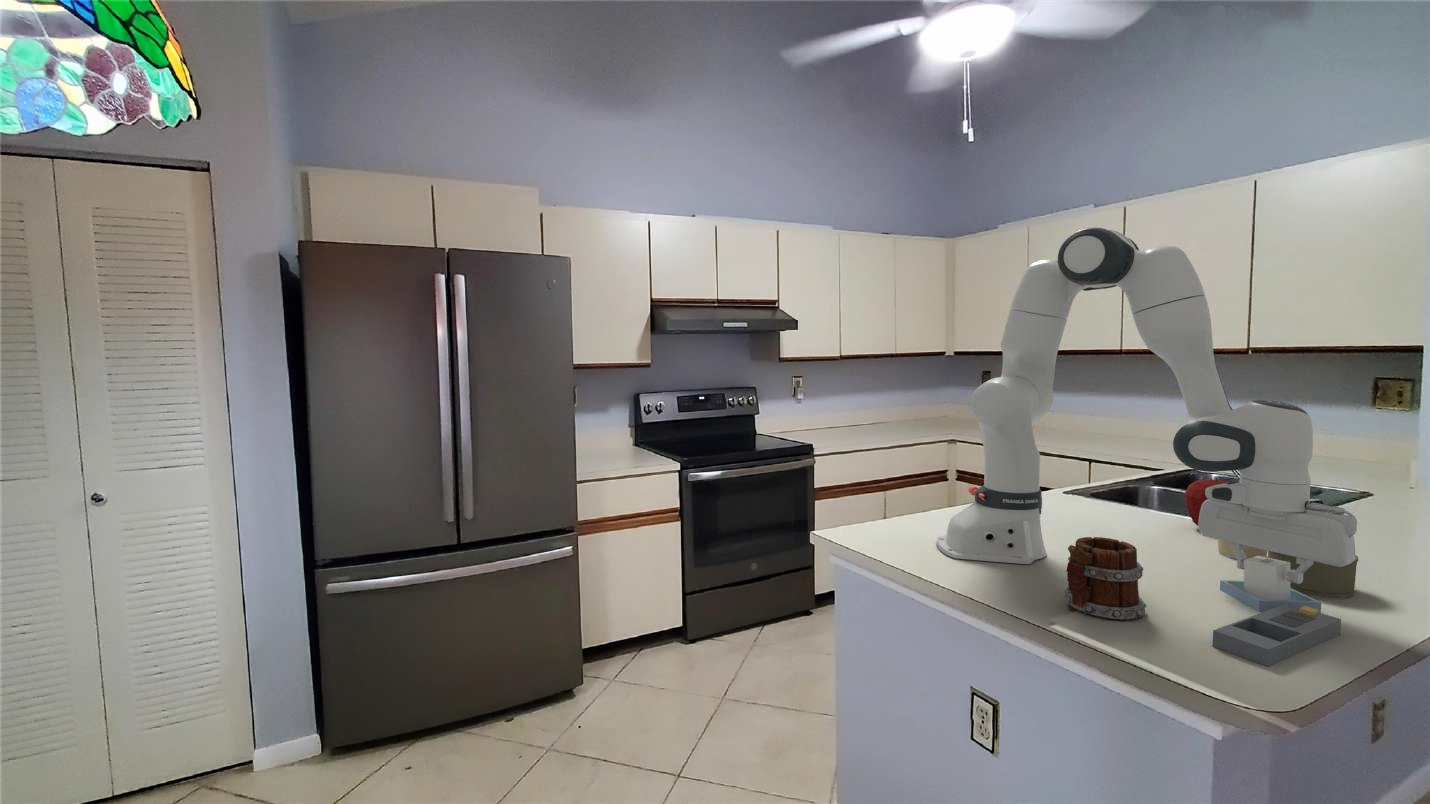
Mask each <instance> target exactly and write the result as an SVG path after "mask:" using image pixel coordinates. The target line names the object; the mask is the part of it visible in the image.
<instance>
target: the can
mask: <svg viewBox="0 0 1430 804" xmlns="http://www.w3.org/2000/svg"><path fill="white" fill-rule="evenodd" d="M1267 558H1271V559H1276V560H1281V561H1286V562H1290V570H1296V569H1297V568H1298V567H1299V566H1300V565H1301V564H1297V563H1296V557H1293V556H1289V555H1285V554H1280V553H1276V552H1272V551H1267ZM1358 561H1359V557H1358V555H1357V554H1355V560H1354V561H1353V562H1352V563H1350V564H1348V565H1346V566H1342V567H1337V566H1332V565H1328V564H1324V563H1319V562H1315V561H1313V565H1312V566H1311V567H1310V568H1309V569H1308V570H1307V571H1305V572H1304V573H1303V582H1302V583H1300V584H1296V583H1293V582H1290V588H1292V589H1294V590H1296V591H1298V592H1300V593H1302V594H1304V595H1307V596H1313V597H1318V598H1325V599H1326V598H1327V599H1350V598H1352V597H1354V596H1355V587H1356V574H1357V565H1358ZM1349 597H1350V598H1349Z"/></svg>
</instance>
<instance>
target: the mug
mask: <svg viewBox="0 0 1430 804" xmlns="http://www.w3.org/2000/svg"><path fill="white" fill-rule="evenodd" d="M1067 551H1068V552H1069V556H1068V558H1067V559H1068V560H1067V561H1068V562H1067V566H1066V573H1067V574H1066V575H1067V576H1066V578H1067V583H1068V584H1067V586H1068V587H1067V588H1065V589H1064V590H1063V593H1064V599H1065V602H1066V603H1067V606H1068V607H1067V608H1068V609H1069V610H1070V611H1072V613H1075V612H1080V613H1082V614H1086V615H1087V616H1090V617H1094V618H1097V619H1103V620H1108V621H1119V622H1120V621H1125V622H1126V621H1134V620H1137V619H1139V618H1140V617H1143V616H1144V614H1145V612H1146V607H1147V604H1146V603H1145V601H1143V599H1142V598H1141V597H1140V595H1139V594H1140V593H1139V580H1140V579H1142V577H1143V571H1144V567H1143V566H1142V564H1140V563H1139V562H1138V550H1137V548H1136V546H1134V545H1133V544H1131V543H1129V542H1127V541H1124V540H1122V541H1119V539H1114V538H1110V537H1103V536H1102V537H1101V536H1093V537H1091V536H1085V537H1080V538H1078V539H1076V541H1075V545H1072V544H1070V545H1069V546H1068V547H1067Z"/></svg>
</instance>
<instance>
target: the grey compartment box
mask: <svg viewBox="0 0 1430 804" xmlns="http://www.w3.org/2000/svg"><path fill="white" fill-rule="evenodd" d="M1341 629H1342V618H1338V617H1335V616H1332V615H1330V614H1329V615H1328V614H1325V613H1322V612H1321V613H1319V610H1318V609H1314V608H1311V607H1307V606H1304V607H1298V606H1294V605H1291V604H1287V603H1286V604H1284V605H1281V606H1278V607H1275V608H1273V609H1270V610H1267V611H1265V612H1259V613H1257V614H1255V615H1252V616H1249V617H1246V618H1243V619H1240V620H1237V621H1235V622H1232V623H1230V624H1227V625H1224V626H1222V627H1221V626H1220V627H1219V628H1216V629H1213V631H1212V644H1211V646H1212V647H1214V648H1216V649H1219V650H1223V651H1225V652H1227V653H1230V654H1232V655H1235V656H1238V657H1240V658H1243V659H1246V660H1249V661H1252V662H1255V663H1257V664H1260V665H1263V666H1265V667H1269V666H1273V665H1276V664H1277V663H1280V662H1282V661H1284V660H1286V659H1288V658H1290V657H1294V656H1295V655H1297V654H1300V653H1302V652H1305V651H1307V650H1309V649H1311V648H1313V647H1315V646H1318V645H1320V644H1322V643H1325V642H1327V641H1329V640H1332V639H1334V638H1335V637H1339V636H1340V635H1341V631H1342V630H1341Z"/></svg>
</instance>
